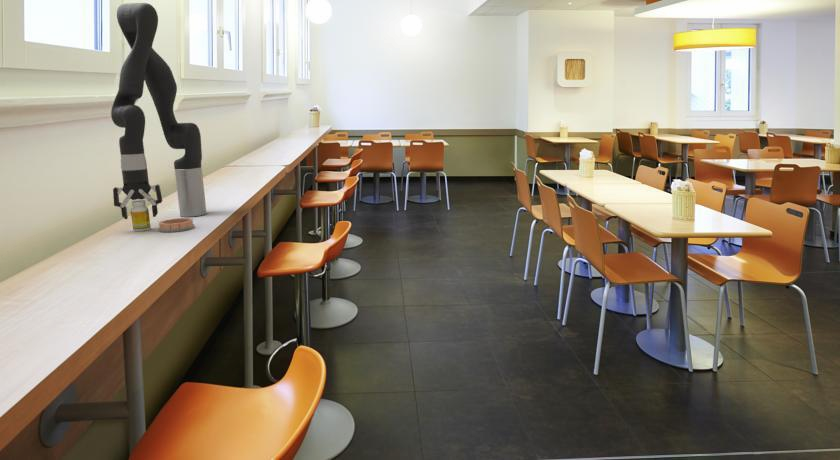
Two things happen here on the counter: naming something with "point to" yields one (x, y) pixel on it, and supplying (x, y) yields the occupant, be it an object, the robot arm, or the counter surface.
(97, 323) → the counter surface
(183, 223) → the ring tray
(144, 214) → the supplement bottle
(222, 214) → the counter surface
